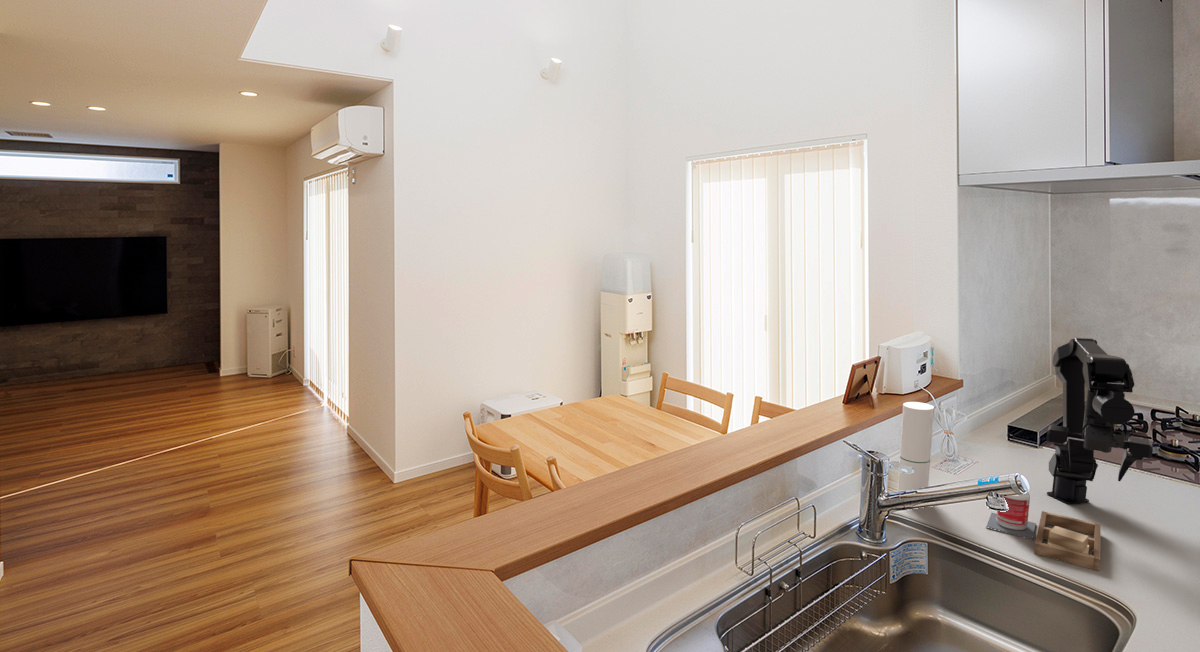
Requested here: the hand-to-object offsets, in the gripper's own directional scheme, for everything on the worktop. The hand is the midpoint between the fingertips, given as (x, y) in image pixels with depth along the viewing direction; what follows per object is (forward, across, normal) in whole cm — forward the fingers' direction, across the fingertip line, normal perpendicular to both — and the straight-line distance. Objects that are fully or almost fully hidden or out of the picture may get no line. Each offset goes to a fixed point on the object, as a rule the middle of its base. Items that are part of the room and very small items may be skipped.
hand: (1093, 475), depth 142 cm
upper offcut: (+11, -3, -16) cm, 20 cm away
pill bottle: (+13, -14, -10) cm, 21 cm away
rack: (+13, -3, -12) cm, 18 cm away
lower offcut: (+14, -3, -16) cm, 22 cm away
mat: (+13, -14, -10) cm, 21 cm away
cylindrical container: (+13, -36, -6) cm, 39 cm away
